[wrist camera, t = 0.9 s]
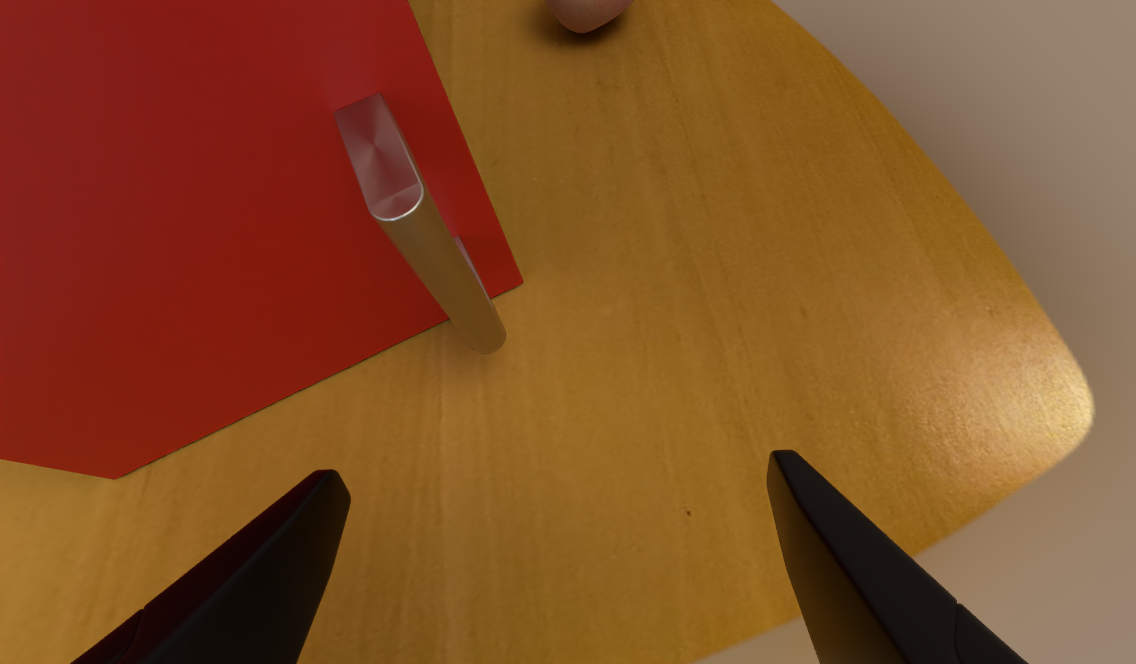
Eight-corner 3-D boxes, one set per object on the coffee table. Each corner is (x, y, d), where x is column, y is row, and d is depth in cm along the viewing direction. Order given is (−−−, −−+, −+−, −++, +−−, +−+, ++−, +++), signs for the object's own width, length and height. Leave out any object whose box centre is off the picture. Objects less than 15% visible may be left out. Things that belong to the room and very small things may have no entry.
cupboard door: (565, 360, 28) (307, -336, 6) (115, 585, 25) (-2419, 638, 4) (518, 271, 31) (240, -396, 10) (114, 464, 29) (-1372, 157, 8)
